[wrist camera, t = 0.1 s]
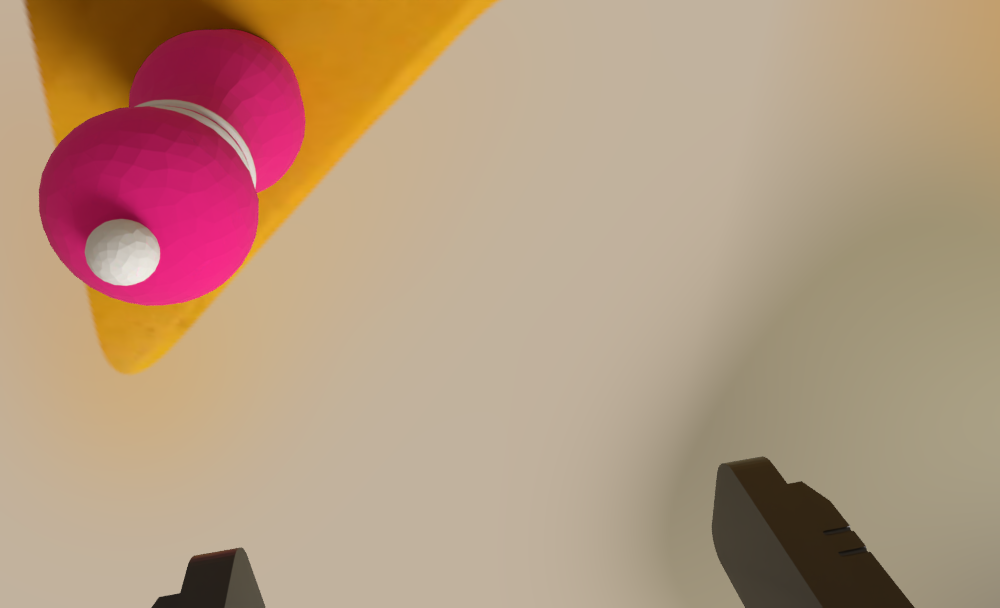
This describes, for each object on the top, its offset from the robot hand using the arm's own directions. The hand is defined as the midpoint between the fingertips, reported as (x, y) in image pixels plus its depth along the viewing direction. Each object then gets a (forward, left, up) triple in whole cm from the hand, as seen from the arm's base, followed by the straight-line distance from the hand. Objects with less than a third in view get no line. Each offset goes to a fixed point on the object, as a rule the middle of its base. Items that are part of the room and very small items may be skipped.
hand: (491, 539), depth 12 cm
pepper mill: (-2, -8, -29) cm, 31 cm away
